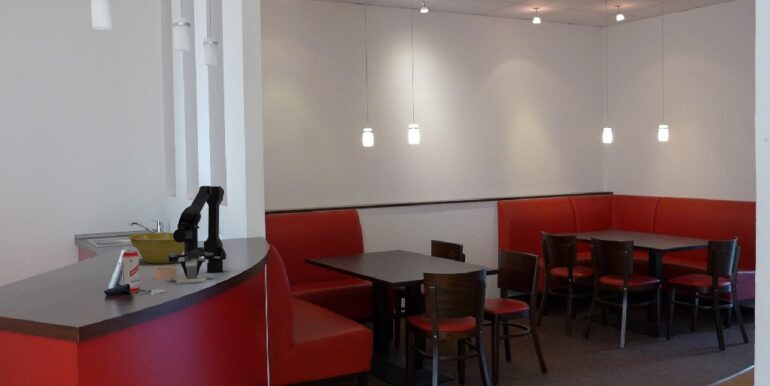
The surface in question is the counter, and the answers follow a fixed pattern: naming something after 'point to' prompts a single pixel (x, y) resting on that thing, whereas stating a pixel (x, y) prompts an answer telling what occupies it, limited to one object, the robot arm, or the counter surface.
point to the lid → (191, 275)
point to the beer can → (130, 270)
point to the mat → (191, 282)
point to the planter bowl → (156, 246)
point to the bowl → (164, 273)
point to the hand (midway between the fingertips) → (191, 276)
